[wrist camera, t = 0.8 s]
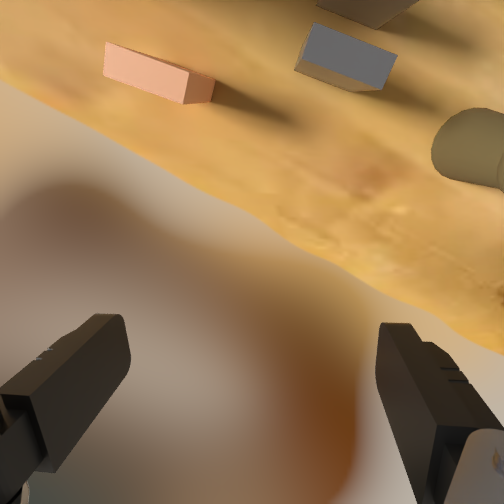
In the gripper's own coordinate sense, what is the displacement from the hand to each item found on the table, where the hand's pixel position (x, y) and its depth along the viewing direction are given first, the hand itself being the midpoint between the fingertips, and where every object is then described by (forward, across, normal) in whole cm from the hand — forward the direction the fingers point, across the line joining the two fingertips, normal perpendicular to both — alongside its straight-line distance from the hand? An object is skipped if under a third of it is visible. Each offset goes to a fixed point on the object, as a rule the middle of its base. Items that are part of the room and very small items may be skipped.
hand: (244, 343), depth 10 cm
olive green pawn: (+23, -17, -5) cm, 29 cm away
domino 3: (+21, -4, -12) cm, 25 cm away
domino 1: (+21, +8, -11) cm, 25 cm away
